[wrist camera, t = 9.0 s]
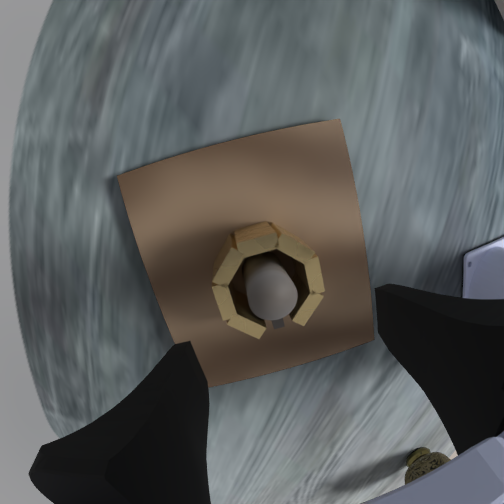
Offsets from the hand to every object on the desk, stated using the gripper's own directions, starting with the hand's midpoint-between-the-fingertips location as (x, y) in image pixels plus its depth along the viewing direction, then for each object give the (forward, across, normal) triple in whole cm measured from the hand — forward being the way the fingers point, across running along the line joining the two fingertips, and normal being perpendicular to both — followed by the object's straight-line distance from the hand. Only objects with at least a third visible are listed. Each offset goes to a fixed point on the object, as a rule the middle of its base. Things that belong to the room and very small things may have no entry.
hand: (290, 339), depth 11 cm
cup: (+10, -14, +32) cm, 36 cm away
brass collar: (+8, 0, 0) cm, 8 cm away
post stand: (+9, 0, 0) cm, 9 cm away
